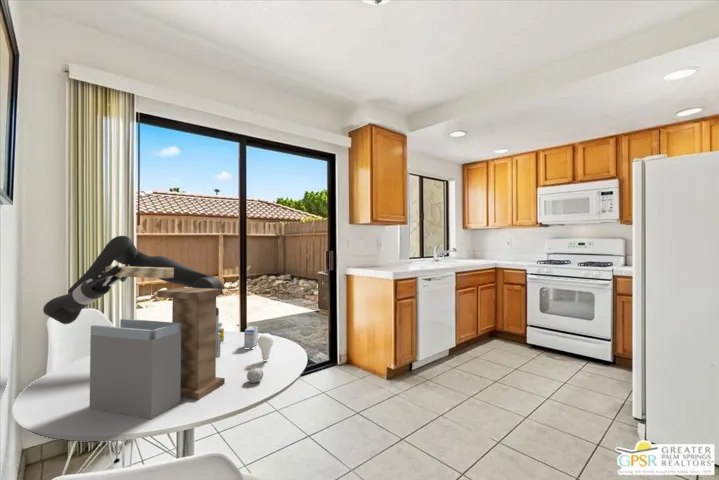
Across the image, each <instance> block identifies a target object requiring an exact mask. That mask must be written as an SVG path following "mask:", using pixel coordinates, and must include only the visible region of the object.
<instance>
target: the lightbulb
mask: <svg viewBox="0 0 719 480" xmlns="http://www.w3.org/2000/svg"><path fill="white" fill-rule="evenodd" d="M274 342H275V340H274V337H273V335H271V334H270V333H263V334H261V335H260V336H258V344H257V346H258V347H259V349H260V350H261V351H260V352H261V356H262V357H261V358H262V359H263V360H262V361H264V360H267V359H270V353H271V349H272V347H273V345H274ZM267 361H268V360H267Z"/></svg>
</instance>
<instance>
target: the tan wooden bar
mask: <svg viewBox="0 0 719 480" xmlns="http://www.w3.org/2000/svg"><path fill="white" fill-rule="evenodd" d="M115 266H116V265H110V266H109V267H105V272H106V271H107V270H110V269H112V268H113V267H115ZM119 266H120V269H121V271H120V272H118V273H117V274H115V275H113V276H121V277H127V278H146V279H147V278H151V279H152V278H153V279H159V278H172V277H174V268H160V267H131V266H130V267H125V265H124V266H121V265H119Z"/></svg>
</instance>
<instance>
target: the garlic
mask: <svg viewBox="0 0 719 480" xmlns="http://www.w3.org/2000/svg"><path fill="white" fill-rule="evenodd" d="M246 377H247V380H248V382H250V383H251V382H252V384H257V383H256V382H259V383H260V382H261V381H262V379H263V377H264V370H263V369H262V368H260V367H256V366H255V365H251V366H250V370H248V371H247V374H246Z"/></svg>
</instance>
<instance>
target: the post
mask: <svg viewBox="0 0 719 480" xmlns="http://www.w3.org/2000/svg"><path fill="white" fill-rule="evenodd" d="M156 295H157V296H156V297H157V298H159V299H160V298H164V299H172V313H171V314H172V315H171V316H172V317H171V318H172V319H171V322H174V323H181V384H180V398H185V399H191V400H192V399H193V400H199V401H200V400H201V399H203V398H205V397H206V396H207V395H209V394H211V393H212V392H214V391H216V390H217V389H219V388H220V386H221V387H222V386H224V385H225V382H226V379H225V378H224V377H220V376H218V377H217V376H216V372H217V371H216V370H217V369H216V367H217V365H216V364H217V362H216V361H217V357H216V307H217V297H218V296H221V295H222V292H221V289H209V288H192V287H185V286H184V287H182V286H181V287H176V288H175V287H174V288H169V289H163V290H157V292H156ZM223 384H224V385H223Z"/></svg>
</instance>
